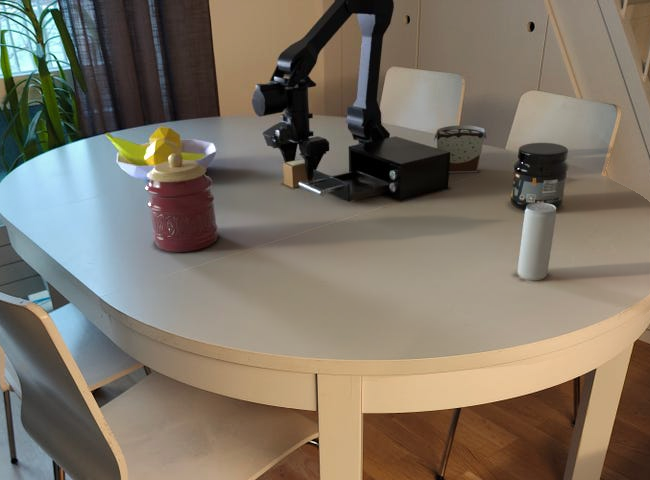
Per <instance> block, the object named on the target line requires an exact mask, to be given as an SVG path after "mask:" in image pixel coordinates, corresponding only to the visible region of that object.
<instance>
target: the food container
mask: <svg viewBox="0 0 650 480" xmlns="http://www.w3.org/2000/svg"><path fill="white" fill-rule="evenodd" d="M484 139H487V133H486V129H485V128H483V127H480V126H475V125H467V124H466V125H465V124H464V125H458V124H457V125H449V126H443V127H440V128H438V129H437V130H436V132H435V134H434V138H433V141H435V142H436V148H438V149H441V150H445V151H448V152H450V168H449V174H452V173H453V174H454V173H458V174H459V173H478V170H479V165H480V161H481V160H480V159H481V154H482V149H483V144H484Z"/></svg>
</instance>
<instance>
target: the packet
mask: <svg viewBox="0 0 650 480" xmlns="http://www.w3.org/2000/svg"><path fill="white" fill-rule="evenodd" d="M282 173H283V184H284V185H285V186H288V187H290V188H292V189H296V188H300V187H299V182H300V181H303V182H310V181H314V176H313V179H312V180H308V179H307V175H306V168H305V161H304V159H303V158H299V159H295V161H290V162H285V161H284V162H283V163H282Z"/></svg>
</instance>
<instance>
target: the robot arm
mask: <svg viewBox="0 0 650 480" xmlns="http://www.w3.org/2000/svg"><path fill="white" fill-rule="evenodd" d="M394 10H395V3H394V0H334V1H333V3H332V4H331V5H330V6H329V7H328V8H327V10H326V11H325V12H324V13H323V14H322V15H321V17H320V18H319V19H318V20H317V21H316V22H315V24H314V25H313V26H311V28H310V29H309V31H308V32H307V33H306V34H305V35H304V36H303V37H302V38H300V39H299V40H297V41H295V42H294V43H291V44H290V45H288V47H287V48H285V49H284V50H283V51H281V53H280V54H279V56H278V58H277V64H276V67H275V68H274V70H273V73H272V74H271V76H270V79H269V82H268V83H267V82H266V83H257V84H255V91H254V92H253V93H252V98H251V105H252V109H253V112H254V114H255V115H256V116H257V117H266V116H271V115H276V114H280V113H281V114H280V118H279V119H280V120H279V121H280V122H278V123H275V124H274V125H272V126H270V127H269V128H267V129H265V130H264V131H263V132H262V136H263V138H264V140H265V143H266V146H267V147H272V148H273V149H278V150H279V151H280V153H281V156H282V158H283V161H284V163H285V162H290V161H295V160H296V156H297V150H298V149H299V152H300V153H298V155H299V156H300V157H301V159H304V161H305V168H306V175H307V179H308V180H312V179H313V176H314V173H313V170H317V169H318V168H319V164H320V163H321V161H322V159H323V157H324V155H326V154H327V152H330V141H329V140H328V139H326V138H324V137H321V136H314V135H315V134H314V131H313V130H311V128H310V125H311V124H310V119H313V118H314V114H313V113H312V112H310V101H309V89H310V88H314V87H316V86H317V82H315V81H314V80H312V78H311V77H310V74H311V73H312V71H313V70H314V68H315V66H316V65H317V63H318V58H319V55H320V53H321V51H322V50H323V49H324V48H325V47H326V46H327V44H329V42H330V41H331V40H332V38H333V37H334V36H335V35H336V34H337V33H338V31H339V30H340V29H341V28H342V27H343V26H344V25H345V24H346V22H347V21H348V20H349V18H350V17H351V16H352V15H353V14H355V15H356V14H357V23H358V26H359V29H360V32H361V46H360V58H359V59H360V60H359V69H358V70H359V71H358V82H357V94H356V100H355V101H354V102H353V104H352V105H348V106H347V109H346V111H347V112H346V113H347V115H346V120H345V123H346V124H347V129H348V131H349V132H350V134H351V136H352V138H353V140H354V141H358V144H362V143H367V142H372V141H376V140H381V139H385V138H390V137H391V133H390V132H389V131H388V130H387V129H386V128H385V126H384V125H383V124H382V111H381V108H380V105H379V103H378V91H379V83H380V82H379V81H380V73H381V72H380V71H381V62H382V61H381V60H382V53H383V51H382V50H383V43H384V35H385V34H386V32H387V30H388V29H389V27H390V25H391V23H392V19H393V14H394Z"/></svg>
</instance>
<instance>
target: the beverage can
mask: <svg viewBox="0 0 650 480" xmlns="http://www.w3.org/2000/svg"><path fill="white" fill-rule="evenodd" d="M523 218H524V219H523V224H522V232H521V239H520V240H521V241H520V248H519V255H518V256H519V257H518V263H517V265H518V266H517V274H518V276H519V277H520V278H521V279H523V280H526V281H541V280H543V279H544V278H546V276H547V275H548V271H549V264H550V259H551V251H552V246H553V238H554V231H555V227H556V225H555V224H556V219H557V209H556V207H555V206H554V205H552V204H548V203H532V204H529V205H527V207H526V210H525V211H524V216H523Z"/></svg>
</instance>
